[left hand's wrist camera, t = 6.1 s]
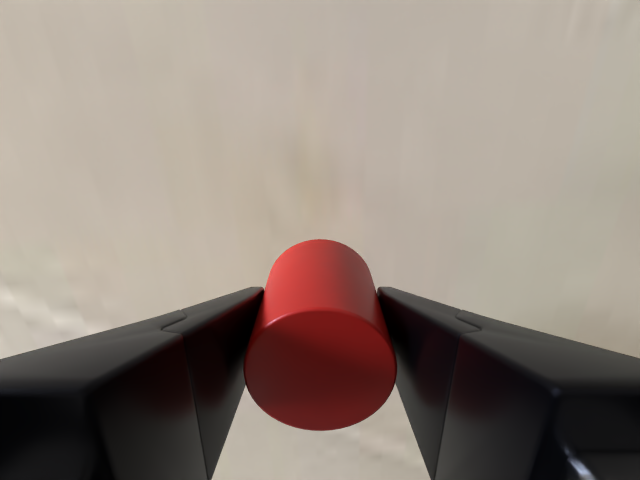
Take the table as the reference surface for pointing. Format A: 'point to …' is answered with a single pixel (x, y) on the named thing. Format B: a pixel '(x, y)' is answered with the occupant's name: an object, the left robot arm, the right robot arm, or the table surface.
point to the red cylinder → (320, 340)
